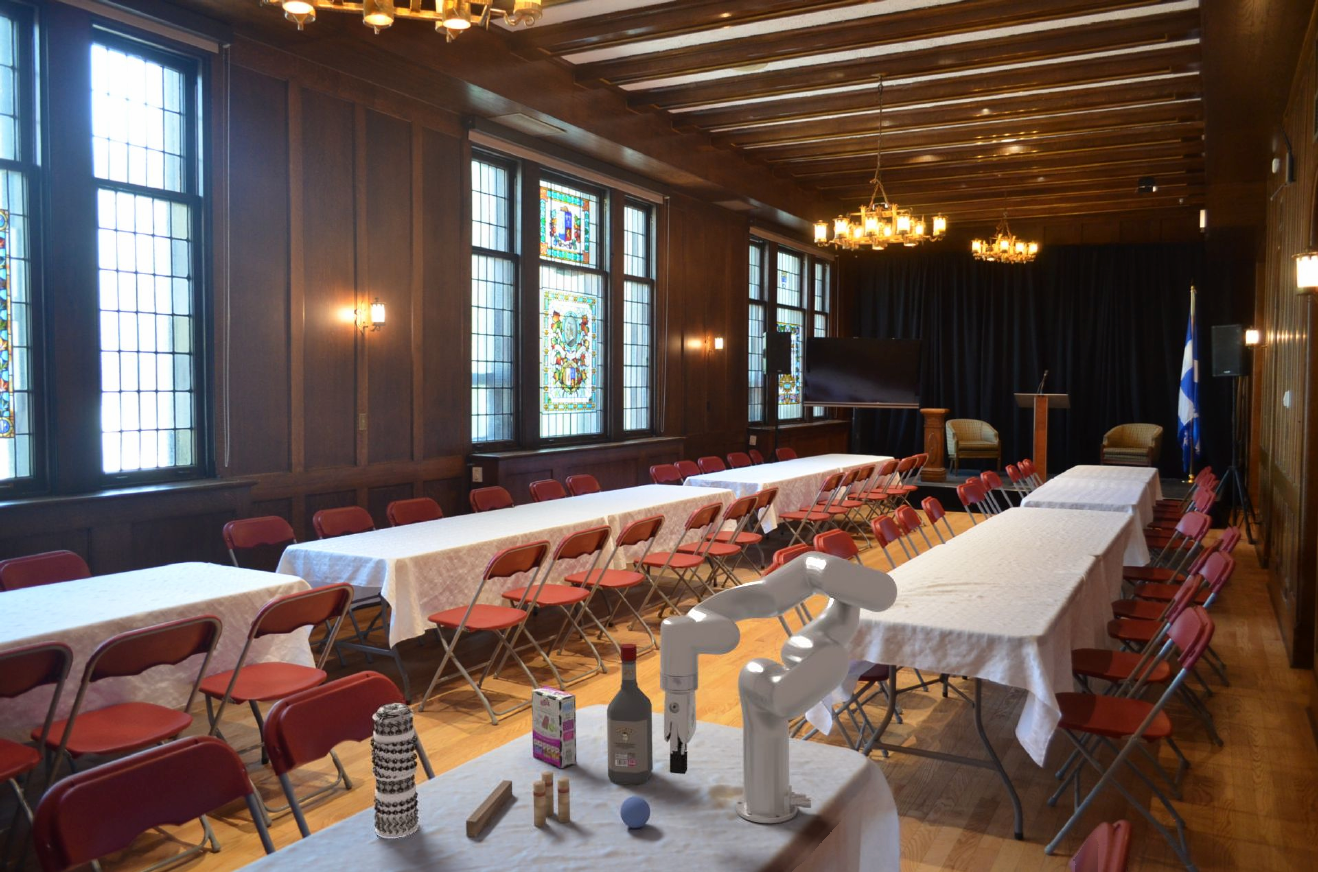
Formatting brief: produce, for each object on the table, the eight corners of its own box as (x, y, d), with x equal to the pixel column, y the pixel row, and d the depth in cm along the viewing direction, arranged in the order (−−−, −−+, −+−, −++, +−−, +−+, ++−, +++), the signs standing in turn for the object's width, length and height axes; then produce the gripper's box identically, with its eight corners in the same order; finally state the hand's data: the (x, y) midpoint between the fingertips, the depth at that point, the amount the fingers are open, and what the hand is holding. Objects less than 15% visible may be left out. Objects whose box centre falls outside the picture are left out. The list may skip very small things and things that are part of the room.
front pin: (571, 818, 200) (570, 777, 200) (568, 823, 198) (567, 782, 197) (560, 817, 201) (559, 776, 200) (556, 822, 198) (555, 781, 198)
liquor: (646, 785, 216) (643, 652, 214) (605, 783, 217) (603, 650, 216) (654, 769, 225) (652, 641, 223) (615, 767, 226) (613, 639, 225)
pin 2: (555, 811, 204) (554, 771, 203) (551, 816, 201) (551, 775, 201) (544, 810, 204) (543, 770, 204) (540, 815, 202) (539, 774, 201)
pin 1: (547, 821, 199) (546, 780, 198) (543, 827, 196) (542, 785, 196) (536, 820, 199) (535, 779, 199) (532, 826, 197) (531, 784, 196)
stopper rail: (512, 794, 212) (512, 780, 212) (475, 836, 193) (475, 821, 193) (503, 793, 213) (503, 779, 213) (466, 835, 193) (466, 820, 193)
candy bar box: (578, 763, 229) (576, 694, 228) (561, 769, 225) (559, 699, 224) (548, 751, 237) (547, 684, 236) (531, 756, 233) (530, 689, 232)
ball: (653, 820, 198) (652, 792, 198) (646, 834, 193) (646, 804, 192) (624, 818, 200) (624, 789, 199) (617, 831, 194) (616, 802, 193)
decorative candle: (373, 842, 191) (369, 717, 189) (373, 822, 200) (369, 702, 198) (421, 836, 193) (417, 712, 192) (419, 816, 202) (415, 697, 201)
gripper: (691, 693, 184) (690, 788, 185) (704, 670, 199) (703, 759, 200) (652, 690, 186) (651, 784, 187) (668, 668, 200) (667, 756, 201)
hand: (678, 771), depth 193 cm, fingers closed
